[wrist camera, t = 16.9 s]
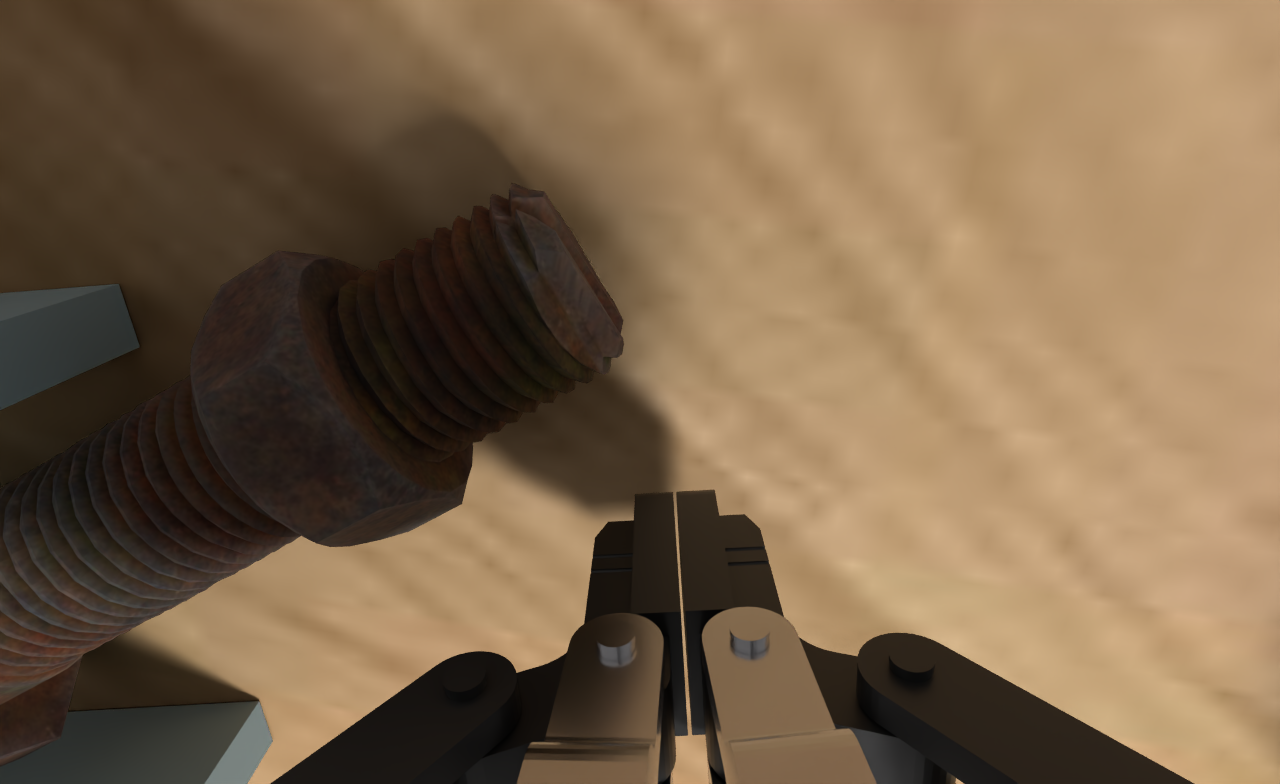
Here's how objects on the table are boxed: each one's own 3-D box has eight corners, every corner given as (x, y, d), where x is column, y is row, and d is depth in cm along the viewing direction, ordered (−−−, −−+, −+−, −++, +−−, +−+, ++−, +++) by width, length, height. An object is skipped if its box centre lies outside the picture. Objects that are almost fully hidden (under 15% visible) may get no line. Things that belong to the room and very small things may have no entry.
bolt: (613, 265, 15) (62, 575, 17) (471, 47, 11) (-208, 478, 13) (703, 487, 11) (-23, 850, 13) (533, 268, 7) (-435, 821, 10)
